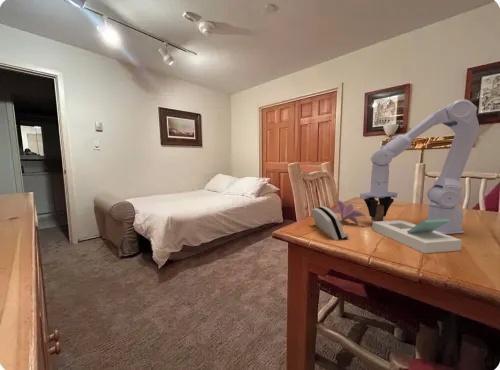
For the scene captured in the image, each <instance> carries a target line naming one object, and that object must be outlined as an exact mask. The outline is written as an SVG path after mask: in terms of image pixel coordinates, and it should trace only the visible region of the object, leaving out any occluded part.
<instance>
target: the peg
mask: <svg viewBox="0 0 500 370" xmlns="http://www.w3.org/2000/svg"><path fill="white" fill-rule="evenodd" d="M370 217H371V216H370ZM384 218H385V217H384V205H382V204H379V203H378V204H377V207H376V215H375V217H371V221H372V222H377V221H384Z"/></svg>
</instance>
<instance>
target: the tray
mask: <svg viewBox="0 0 500 370" xmlns="http://www.w3.org/2000/svg"><path fill="white" fill-rule="evenodd" d="M371 225H372V226H371V230H372V231H374V232H376V233H378V234H381V235H383V236H385V237H387V238H389V239H392V240H394V241H396V242H398V243H401V244H402V245H405V246H406V247H409V248H411V249H413V250H416V251H418V252H420V253H422V254H432V253H434V254H435V253H444V252H453V251H454V252H455V251H456V252H457V251H461V249H462V242H463V240H462V239H460V238H458V237H454V236H451V235H449V234H442V233H439V232H436V231H433V232H421V233H408V232H407V231H408V230H410V229H412V228H413V227H415V226H416V225H417V224H415V223H412V222H409V221H406V220H402V219H397V220H395V219H393V220H383V221H372V224H371Z"/></svg>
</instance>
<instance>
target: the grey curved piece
mask: <svg viewBox="0 0 500 370" xmlns="http://www.w3.org/2000/svg"><path fill="white" fill-rule="evenodd" d="M311 215H312V218H313V220H314V224H315V226H316V227H318V228H319V229H320V230H321V231H322V232H324V233H325V234H326V235H327V236H329V237H330V238H331V239H332V240H334V241H339V238H341V239H344V238H345V239H347V241H349V240H350V237H349V235H348V233H346V232H345V231H344V230H343V226H341V221H340V219H339V216H338V215H337V214H336V213H335V211H333V210H332V209H330V208H328V207H327V206H324V205H321V206H317V207H315V208H313V209H311Z"/></svg>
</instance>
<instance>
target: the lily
mask: <svg viewBox="0 0 500 370" xmlns="http://www.w3.org/2000/svg"><path fill="white" fill-rule="evenodd" d="M334 200H335V203H336V205H337V207H335V208H331V211H333V212H336V213H338V214H340V219H341V221H340V223H341V226H342V225H343V221H347V220H350V221H352V222H353V223H355V224H357V225H358V224H359V223H358V220H357V218H359V217H366V214H365V213H364V212H362V211H359V210H356V209H354V206H353V204H352V203H349V204H345V203H344V202H342V201H341V200H339V199H338V198H335V199H334ZM342 227H343V226H342Z"/></svg>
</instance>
